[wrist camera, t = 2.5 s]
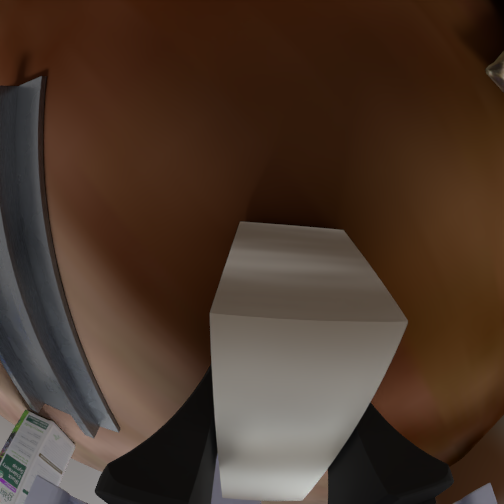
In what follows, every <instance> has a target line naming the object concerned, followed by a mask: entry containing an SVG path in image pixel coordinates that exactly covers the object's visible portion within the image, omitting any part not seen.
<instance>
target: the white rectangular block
mask: <svg viewBox="0 0 504 504" xmlns="http://www.w3.org/2000/svg"><path fill="white" fill-rule="evenodd" d="M407 323H408V320H407V319H406V317H405V316H404V314H403V313H402V311H401V310H400V308H399V306H398V305H397V303H396V302H395V300H394V299H393V298H392V296H391V295H390V293H389V292H388V290H387V289H386V287H385V286H384V284H383V283H382V282H381V280H380V279H379V277H378V276H377V274H376V273H375V272H374V270H373V269H372V267H371V266H370V265H369V263H368V262H367V261H366V259H365V258H364V257H363V255H362V254H361V252H360V251H359V250H358V248H357V247H356V246H355V244H354V243H353V242H352V241H351V239H350V238H349V237H348V235H347V234H346V233H345V231H344V230H339V229H328V228H317V227H305V226H293V225H281V224H268V223H254V222H240V223H239V226H238V229H237V232H236V235H235V238H234V241H233V244H232V247H231V250H230V253H229V256H228V259H227V262H226V265H225V268H224V271H223V274H222V277H221V280H220V283H219V286H218V289H217V292H216V295H215V298H214V301H213V304H212V307H211V310H210V339H211V362H212V382H213V398H214V413H215V427H216V439H217V450H218V461H219V471H220V481H221V490H222V498H230V499H241V500H258V501H302V500H303V499H304V498H305V497H306V495H307V494H308V493H309V492H310V491H311V489H312V488H313V487H314V486H315V484H316V483H317V482H318V481H319V479H320V478H321V477H322V475H323V474H324V473H325V471H326V470H327V469H328V467H329V466H330V465H331V463H332V462H333V460H334V459H335V458H336V456H337V455H338V453H339V452H340V450H341V449H342V447H343V446H344V445H345V443H346V441H347V440H348V438H349V437H350V435H351V434H352V432H353V431H354V429H355V427H356V426H357V424H358V422H359V421H360V419H361V417H362V416H363V414H364V412H365V411H366V409H367V407H368V405H369V404H370V402H371V400H372V398H373V396H374V394H375V393H376V391H377V389H378V387H379V385H380V383H381V381H382V379H383V377H384V375H385V373H386V371H387V369H388V367H389V365H390V363H391V360H392V358H393V356H394V354H395V352H396V349H397V347H398V345H399V343H400V340H401V338H402V336H403V333H404V331H405V328H406V326H407Z"/></svg>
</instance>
